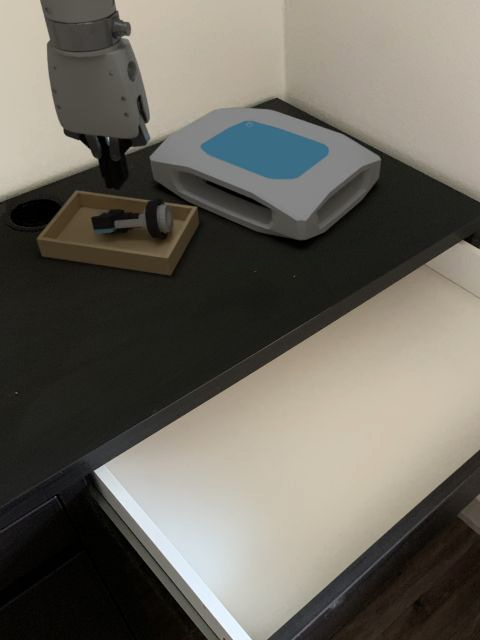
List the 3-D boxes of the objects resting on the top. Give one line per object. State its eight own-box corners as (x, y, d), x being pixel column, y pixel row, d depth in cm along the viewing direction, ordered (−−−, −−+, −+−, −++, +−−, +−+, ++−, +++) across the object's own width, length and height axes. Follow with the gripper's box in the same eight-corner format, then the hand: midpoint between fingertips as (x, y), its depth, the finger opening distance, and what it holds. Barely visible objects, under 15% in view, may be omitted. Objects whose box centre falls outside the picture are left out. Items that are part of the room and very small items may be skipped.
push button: (104, 196, 93) (173, 191, 91) (113, 234, 95) (180, 230, 94) (86, 207, 87) (159, 202, 86) (95, 247, 89) (167, 243, 88)
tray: (41, 256, 89) (35, 238, 87) (80, 207, 97) (75, 190, 95) (170, 275, 87) (168, 258, 85) (199, 223, 95) (197, 206, 92)
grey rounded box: (302, 252, 90) (303, 212, 86) (151, 187, 101) (144, 148, 96) (380, 185, 102) (384, 147, 97) (237, 133, 112) (235, 96, 108)
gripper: (162, 23, 73) (182, 175, 87) (36, 11, 75) (75, 162, 89) (137, 49, 68) (162, 206, 82) (3, 36, 70) (50, 192, 84)
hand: (117, 183), depth 85 cm, fingers closed
